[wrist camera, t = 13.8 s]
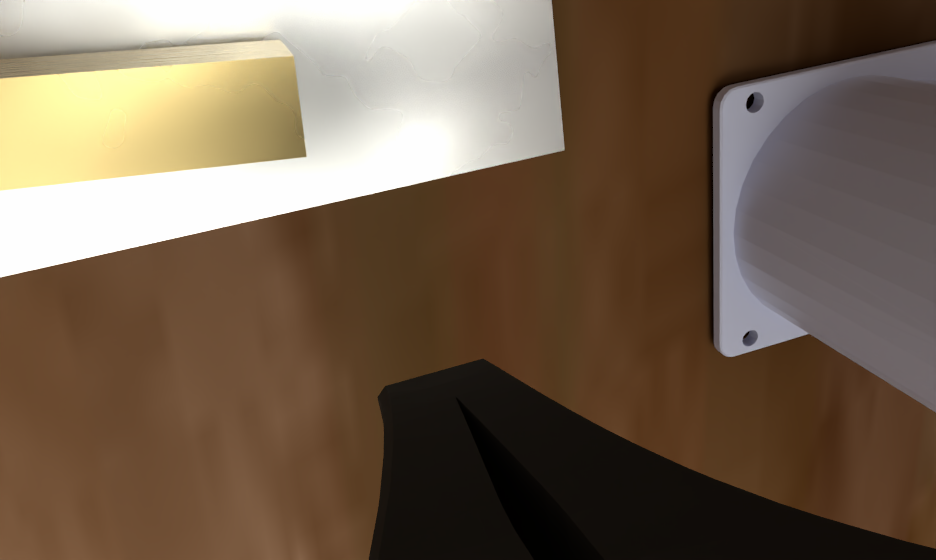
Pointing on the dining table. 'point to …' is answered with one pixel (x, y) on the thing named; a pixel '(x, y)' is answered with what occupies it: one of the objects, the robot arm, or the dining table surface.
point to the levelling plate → (322, 109)
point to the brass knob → (146, 112)
